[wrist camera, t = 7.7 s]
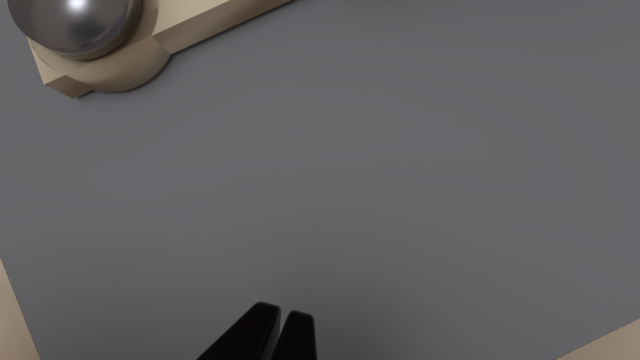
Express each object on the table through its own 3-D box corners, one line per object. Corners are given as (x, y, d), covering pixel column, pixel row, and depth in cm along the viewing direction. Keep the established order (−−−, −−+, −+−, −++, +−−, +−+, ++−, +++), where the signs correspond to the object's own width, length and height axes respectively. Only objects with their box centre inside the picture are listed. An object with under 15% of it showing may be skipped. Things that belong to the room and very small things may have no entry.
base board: (140, 546, 17) (123, 569, 16) (-75, 9, 20) (-104, -7, 18) (802, 224, 16) (836, 222, 15) (477, -285, 19) (484, -321, 18)
